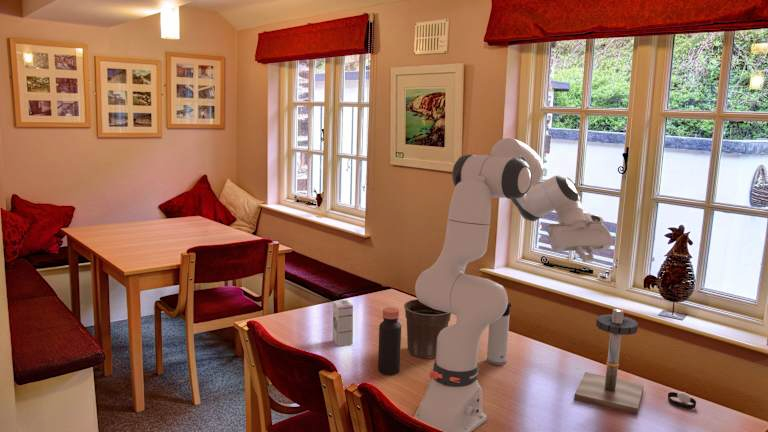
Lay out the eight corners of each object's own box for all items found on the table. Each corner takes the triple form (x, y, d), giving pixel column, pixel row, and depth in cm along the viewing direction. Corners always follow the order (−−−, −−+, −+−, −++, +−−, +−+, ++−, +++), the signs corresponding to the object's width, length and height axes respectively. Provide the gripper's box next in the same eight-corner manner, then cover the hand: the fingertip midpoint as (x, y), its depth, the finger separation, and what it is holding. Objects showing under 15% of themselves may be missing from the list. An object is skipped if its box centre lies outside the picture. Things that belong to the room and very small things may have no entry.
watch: (698, 407, 181) (699, 395, 181) (691, 412, 178) (693, 400, 177) (670, 397, 187) (672, 386, 186) (664, 402, 184) (665, 391, 183)
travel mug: (507, 366, 204) (511, 307, 200) (486, 364, 205) (490, 305, 202) (507, 359, 210) (511, 301, 206) (487, 356, 211) (491, 299, 208)
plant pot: (456, 348, 218) (459, 303, 215) (440, 365, 203) (443, 317, 200) (413, 339, 224) (414, 295, 221) (394, 355, 210) (396, 309, 207)
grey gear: (634, 337, 175) (635, 330, 175) (593, 329, 180) (594, 323, 180) (639, 325, 185) (639, 318, 185) (599, 318, 190) (600, 312, 189)
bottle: (401, 368, 200) (404, 307, 197) (396, 377, 194) (398, 314, 190) (381, 365, 202) (383, 305, 198) (375, 373, 196) (377, 312, 192)
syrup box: (353, 344, 218) (354, 304, 215) (336, 346, 216) (337, 306, 213) (348, 338, 223) (348, 299, 220) (331, 340, 221) (332, 300, 218)
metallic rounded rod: (615, 392, 184) (623, 313, 179) (603, 390, 185) (611, 311, 181) (616, 388, 187) (625, 310, 182) (604, 385, 188) (612, 308, 184)
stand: (636, 415, 175) (637, 408, 175) (573, 400, 183) (574, 393, 182) (643, 390, 190) (643, 384, 190) (584, 378, 198) (585, 371, 197)
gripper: (549, 218, 198) (563, 256, 190) (606, 217, 203) (622, 254, 195) (541, 229, 203) (554, 267, 195) (597, 228, 208) (612, 264, 201)
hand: (588, 261), depth 195 cm, fingers closed
